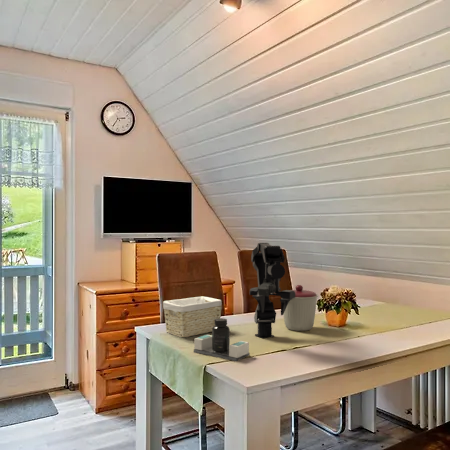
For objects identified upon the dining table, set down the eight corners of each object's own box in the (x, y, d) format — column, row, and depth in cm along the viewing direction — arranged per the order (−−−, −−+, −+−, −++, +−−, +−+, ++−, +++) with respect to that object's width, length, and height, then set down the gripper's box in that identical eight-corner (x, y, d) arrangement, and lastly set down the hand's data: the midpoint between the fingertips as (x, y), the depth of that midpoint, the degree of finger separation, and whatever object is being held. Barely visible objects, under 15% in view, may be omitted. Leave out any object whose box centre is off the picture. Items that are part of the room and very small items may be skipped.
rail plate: (193, 352, 168) (193, 349, 168) (207, 346, 175) (207, 344, 175) (236, 361, 156) (236, 358, 156) (249, 355, 164) (249, 352, 164)
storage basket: (180, 339, 187) (181, 305, 187) (161, 332, 200) (161, 300, 200) (223, 331, 203) (223, 299, 203) (202, 325, 215) (202, 295, 215)
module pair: (194, 348, 168) (194, 338, 168) (206, 344, 175) (207, 334, 175) (237, 357, 157) (237, 346, 157) (248, 352, 163) (248, 341, 163)
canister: (321, 326, 212) (322, 283, 212) (313, 335, 196) (313, 288, 196) (286, 323, 220) (286, 281, 220) (275, 330, 203) (275, 286, 203)
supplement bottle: (213, 347, 170) (213, 317, 170) (230, 348, 169) (230, 317, 169) (210, 352, 163) (211, 321, 163) (229, 353, 162) (229, 321, 162)
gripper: (242, 276, 177) (242, 314, 176) (283, 279, 166) (283, 320, 166) (256, 273, 186) (256, 310, 186) (296, 276, 175) (296, 315, 175)
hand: (272, 313), depth 178 cm, fingers open, 9 cm apart
